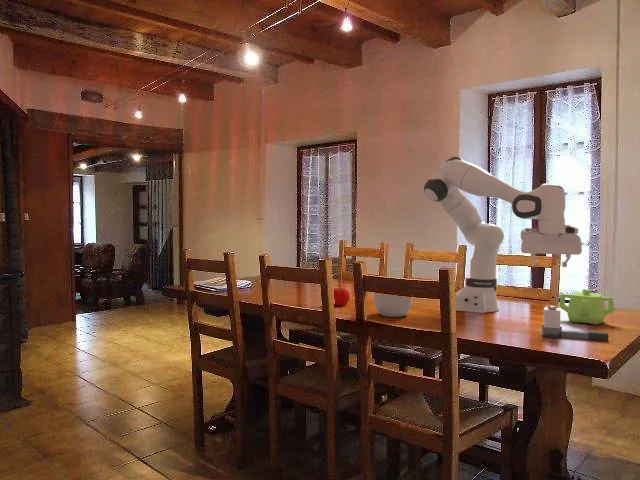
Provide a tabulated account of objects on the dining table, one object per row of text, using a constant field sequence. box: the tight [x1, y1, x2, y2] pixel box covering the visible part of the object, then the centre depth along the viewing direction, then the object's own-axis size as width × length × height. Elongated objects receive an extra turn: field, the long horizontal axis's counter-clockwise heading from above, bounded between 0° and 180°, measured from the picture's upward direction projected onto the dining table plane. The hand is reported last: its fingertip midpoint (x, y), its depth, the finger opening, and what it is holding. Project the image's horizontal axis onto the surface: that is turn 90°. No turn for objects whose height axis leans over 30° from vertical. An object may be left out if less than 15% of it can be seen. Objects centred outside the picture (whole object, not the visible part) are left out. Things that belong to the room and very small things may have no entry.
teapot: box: [558, 288, 616, 326], centre depth 209 cm, size 18×20×13 cm
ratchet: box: [541, 324, 609, 342], centre depth 184 cm, size 21×6×8 cm, turn 70°
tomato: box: [333, 287, 351, 307], centre depth 250 cm, size 9×10×8 cm
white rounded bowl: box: [373, 292, 413, 318], centre depth 225 cm, size 17×17×15 cm
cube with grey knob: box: [543, 305, 561, 328], centre depth 186 cm, size 5×5×7 cm
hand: (550, 266), depth 193 cm, fingers open, 8 cm apart
